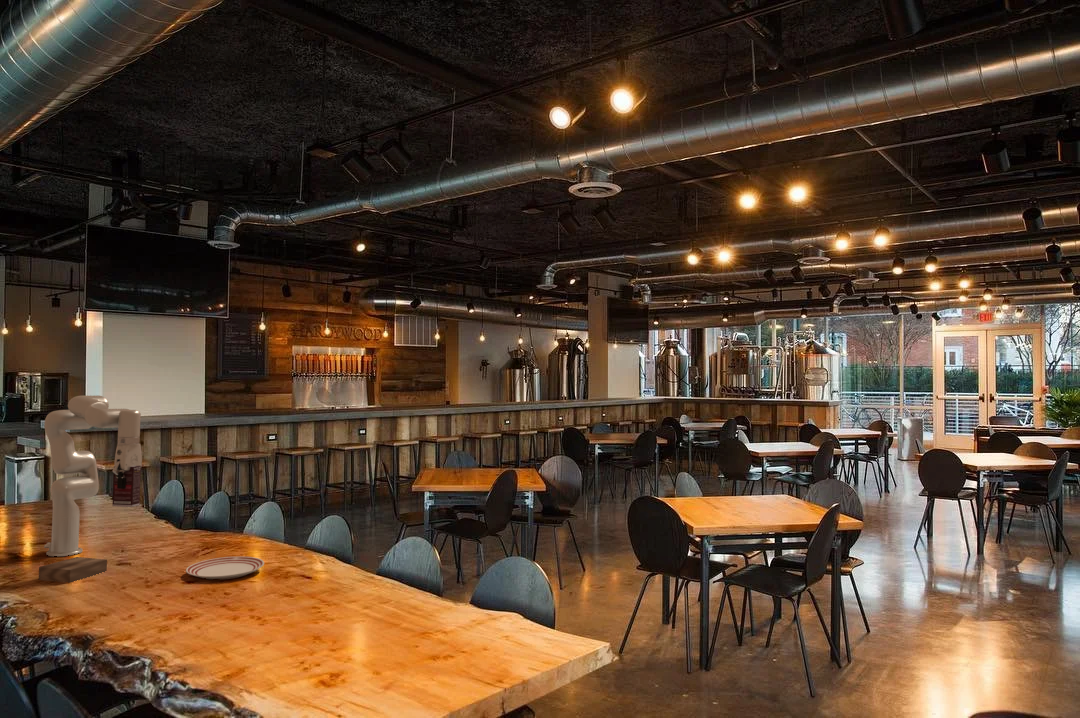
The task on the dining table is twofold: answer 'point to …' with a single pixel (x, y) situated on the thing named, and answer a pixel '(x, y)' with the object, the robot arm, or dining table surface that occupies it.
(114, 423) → the robot arm
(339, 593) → the dining table surface
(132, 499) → the supplement box
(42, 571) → the walnut block
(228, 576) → the dinner plate
